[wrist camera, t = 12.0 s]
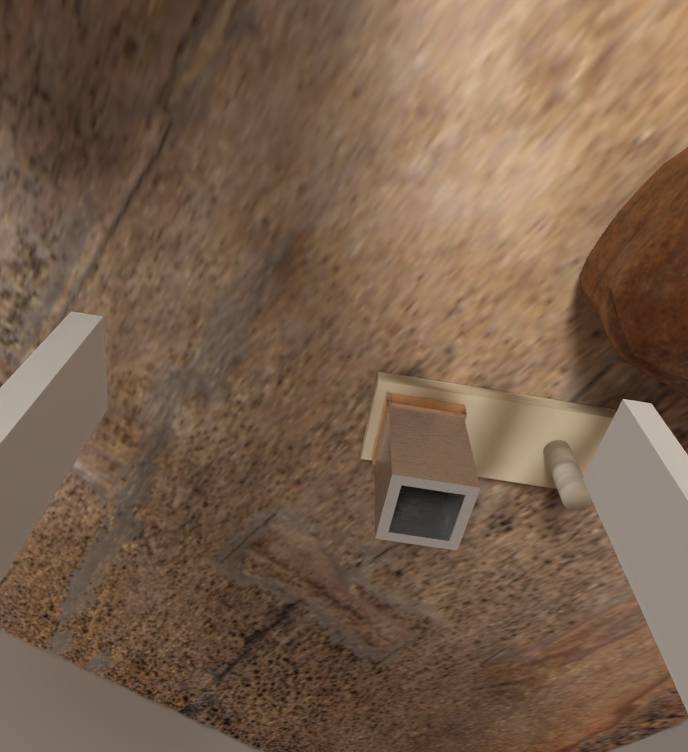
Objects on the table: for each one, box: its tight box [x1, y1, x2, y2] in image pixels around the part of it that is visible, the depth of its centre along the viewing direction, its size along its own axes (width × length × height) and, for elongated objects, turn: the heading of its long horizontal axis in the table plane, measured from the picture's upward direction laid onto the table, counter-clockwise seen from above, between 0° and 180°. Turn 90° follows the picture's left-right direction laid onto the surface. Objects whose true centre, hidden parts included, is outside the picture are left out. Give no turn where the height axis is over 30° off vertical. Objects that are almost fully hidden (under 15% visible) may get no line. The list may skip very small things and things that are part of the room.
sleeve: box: [372, 392, 480, 551], centre depth 46 cm, size 6×6×10 cm
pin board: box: [361, 371, 616, 510], centre depth 49 cm, size 20×8×8 cm, turn 81°
